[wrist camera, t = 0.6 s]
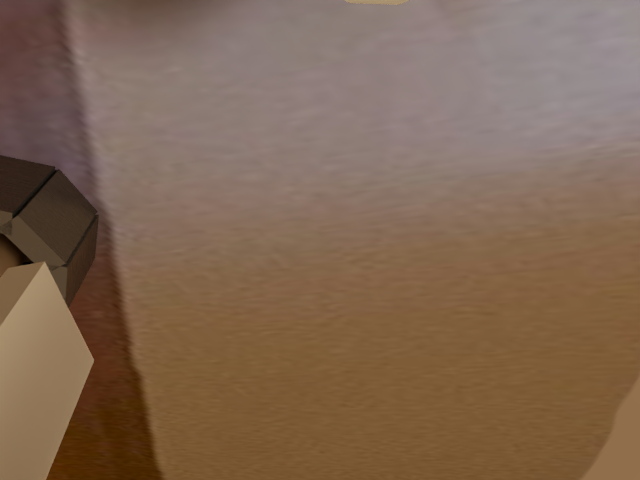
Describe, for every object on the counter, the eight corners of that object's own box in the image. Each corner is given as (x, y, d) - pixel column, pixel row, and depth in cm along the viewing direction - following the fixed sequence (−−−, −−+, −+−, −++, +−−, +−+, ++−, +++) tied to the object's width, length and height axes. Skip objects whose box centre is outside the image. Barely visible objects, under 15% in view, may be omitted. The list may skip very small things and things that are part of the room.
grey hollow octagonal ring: (-88, 203, 36) (-159, 256, 30) (25, 131, 34) (-26, 172, 28) (22, 301, 40) (-20, 364, 34) (125, 243, 39) (100, 298, 33)
